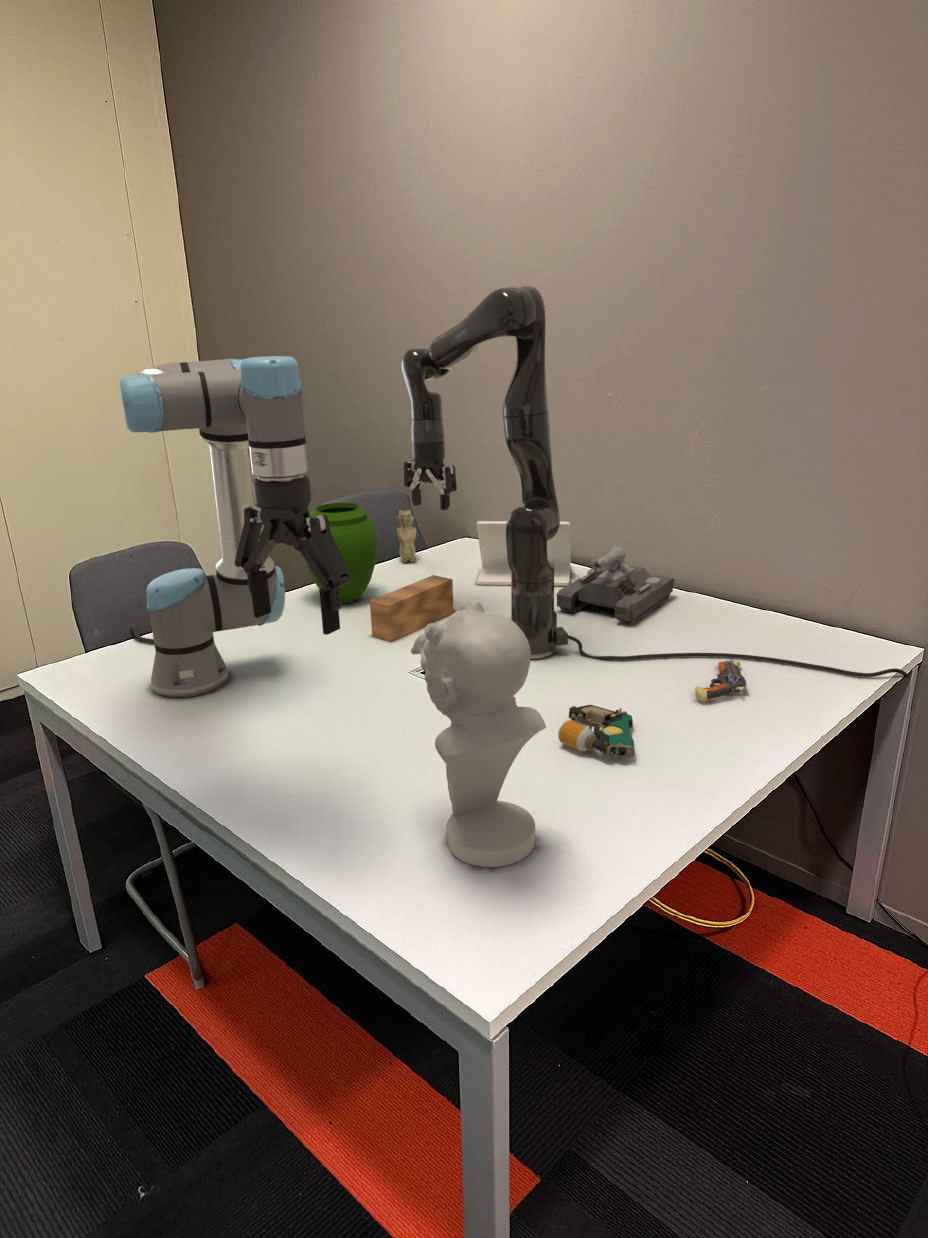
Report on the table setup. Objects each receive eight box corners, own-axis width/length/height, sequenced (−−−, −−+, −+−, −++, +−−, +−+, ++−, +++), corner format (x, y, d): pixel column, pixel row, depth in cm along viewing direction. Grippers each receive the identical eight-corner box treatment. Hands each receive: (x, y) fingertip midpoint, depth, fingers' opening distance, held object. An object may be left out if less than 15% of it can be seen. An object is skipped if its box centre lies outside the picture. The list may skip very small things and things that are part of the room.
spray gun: (574, 713, 161) (653, 730, 155) (544, 749, 146) (630, 769, 140) (576, 692, 159) (656, 709, 153) (546, 727, 145) (632, 746, 139)
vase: (396, 593, 227) (391, 503, 219) (349, 616, 212) (341, 520, 203) (340, 582, 237) (333, 496, 228) (291, 603, 222) (281, 511, 213)
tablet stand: (569, 585, 229) (570, 524, 223) (476, 584, 232) (475, 523, 226) (570, 566, 246) (571, 508, 240) (484, 564, 249) (483, 507, 243)
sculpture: (417, 556, 259) (415, 507, 254) (417, 563, 252) (415, 513, 247) (398, 557, 259) (395, 508, 254) (398, 564, 252) (395, 514, 247)
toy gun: (696, 691, 161) (751, 688, 159) (689, 658, 179) (739, 655, 177) (697, 705, 162) (752, 702, 159) (690, 670, 179) (740, 667, 177)
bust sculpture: (481, 772, 140) (476, 569, 128) (565, 848, 120) (569, 617, 108) (392, 800, 134) (378, 588, 121) (465, 886, 114) (457, 642, 101)
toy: (603, 584, 229) (605, 530, 224) (673, 597, 218) (677, 540, 213) (555, 612, 210) (556, 553, 205) (630, 627, 199) (633, 566, 194)
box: (434, 608, 216) (433, 574, 213) (453, 612, 213) (452, 579, 209) (372, 636, 199) (369, 600, 196) (391, 641, 196) (389, 605, 193)
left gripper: (197, 473, 119) (217, 615, 126) (331, 490, 106) (344, 648, 113) (238, 464, 125) (254, 601, 132) (370, 479, 112) (380, 630, 119)
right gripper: (394, 438, 198) (398, 507, 204) (441, 443, 190) (443, 514, 195) (415, 434, 203) (418, 500, 209) (462, 438, 195) (464, 508, 201)
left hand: (296, 623), depth 123 cm, fingers open, 13 cm apart
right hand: (430, 507), depth 202 cm, fingers open, 8 cm apart
